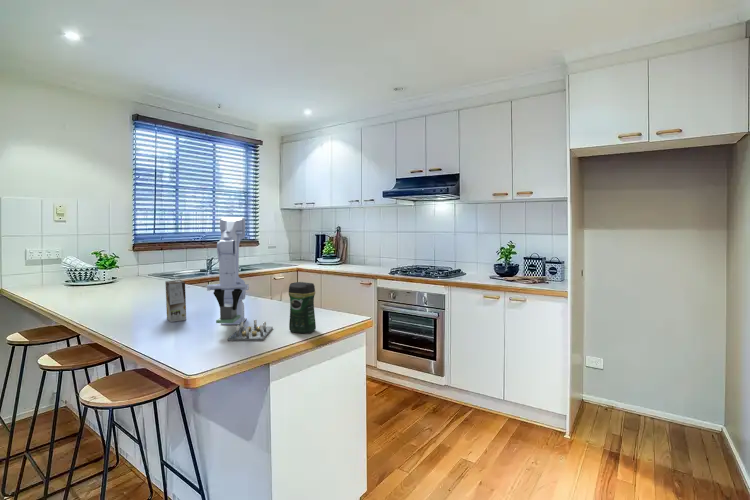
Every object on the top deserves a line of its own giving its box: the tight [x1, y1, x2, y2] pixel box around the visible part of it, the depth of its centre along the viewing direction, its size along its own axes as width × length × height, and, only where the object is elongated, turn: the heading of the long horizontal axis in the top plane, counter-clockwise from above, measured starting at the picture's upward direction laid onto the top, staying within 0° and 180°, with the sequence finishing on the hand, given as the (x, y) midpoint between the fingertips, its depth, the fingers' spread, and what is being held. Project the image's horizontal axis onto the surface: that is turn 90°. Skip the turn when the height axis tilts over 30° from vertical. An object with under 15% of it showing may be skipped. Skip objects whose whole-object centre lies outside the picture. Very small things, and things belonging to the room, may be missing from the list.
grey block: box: [215, 304, 241, 324], centre depth 149 cm, size 9×6×6 cm, turn 2°
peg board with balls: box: [227, 319, 274, 342], centre depth 148 cm, size 16×12×4 cm
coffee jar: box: [288, 281, 317, 334], centre depth 152 cm, size 10×8×19 cm
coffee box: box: [165, 279, 187, 323], centre depth 171 cm, size 9×6×16 cm
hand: (228, 309), depth 149 cm, fingers closed on grey block, 4 cm apart
